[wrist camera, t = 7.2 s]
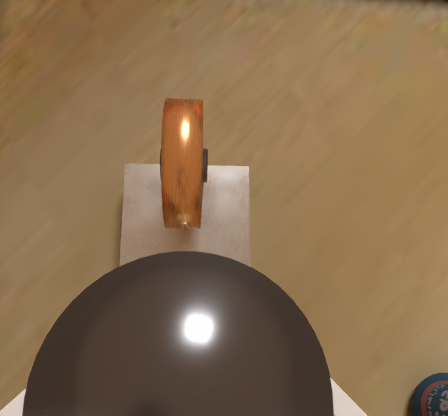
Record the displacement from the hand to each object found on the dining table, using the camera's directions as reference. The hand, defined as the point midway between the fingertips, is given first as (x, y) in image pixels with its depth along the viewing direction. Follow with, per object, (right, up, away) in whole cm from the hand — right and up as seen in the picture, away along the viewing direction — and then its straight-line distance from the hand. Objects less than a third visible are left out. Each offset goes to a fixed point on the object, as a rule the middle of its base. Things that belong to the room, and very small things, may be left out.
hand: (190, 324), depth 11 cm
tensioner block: (-3, -1, +25) cm, 25 cm away
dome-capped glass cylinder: (-1, -2, +7) cm, 7 cm away
